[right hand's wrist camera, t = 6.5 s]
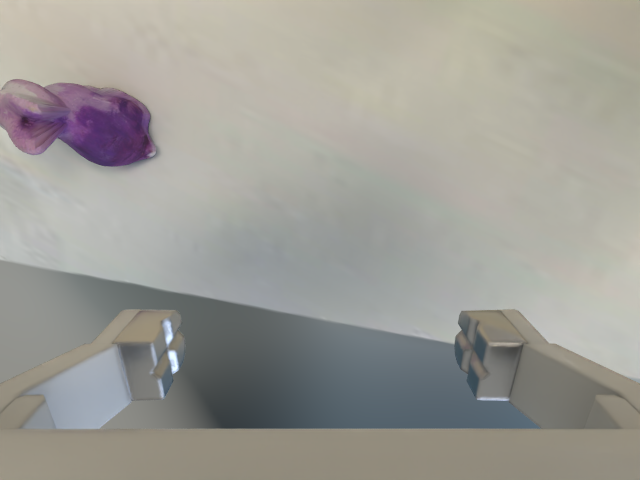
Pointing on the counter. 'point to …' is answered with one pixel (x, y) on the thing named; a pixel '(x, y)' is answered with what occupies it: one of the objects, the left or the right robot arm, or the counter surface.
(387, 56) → the counter surface
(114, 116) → the figurine
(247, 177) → the counter surface
